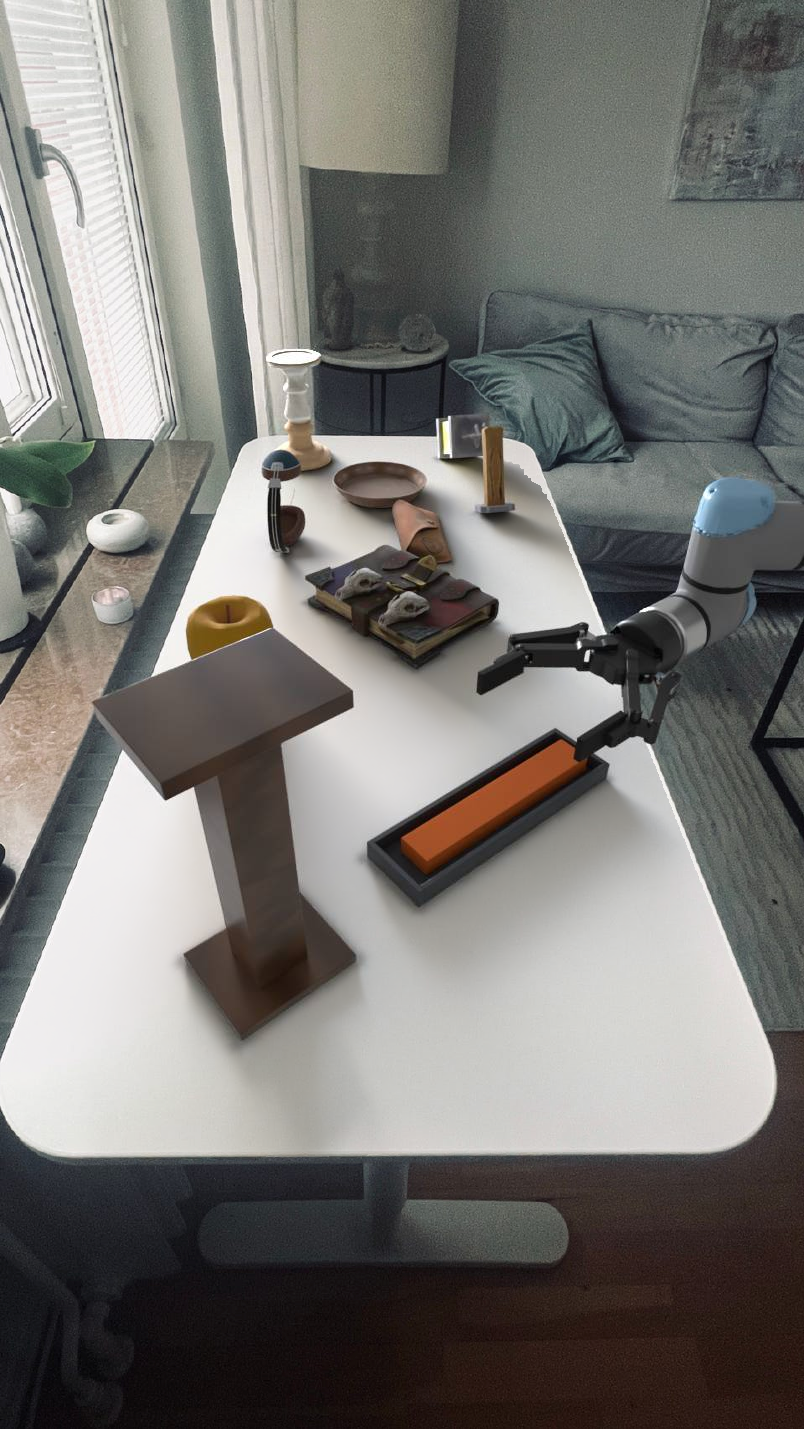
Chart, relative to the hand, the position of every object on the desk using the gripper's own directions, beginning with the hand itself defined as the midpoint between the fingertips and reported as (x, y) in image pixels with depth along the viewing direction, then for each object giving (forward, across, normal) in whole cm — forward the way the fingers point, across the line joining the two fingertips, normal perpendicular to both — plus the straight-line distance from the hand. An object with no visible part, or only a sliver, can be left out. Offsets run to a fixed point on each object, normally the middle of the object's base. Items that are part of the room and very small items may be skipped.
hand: (525, 715), depth 79 cm
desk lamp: (-56, +65, -12) cm, 87 cm away
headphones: (-15, +69, -12) cm, 72 cm away
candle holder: (-37, +97, -12) cm, 104 cm away
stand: (+32, 0, -12) cm, 34 cm away
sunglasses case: (-33, +54, -12) cm, 65 cm away
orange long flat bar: (+3, 0, -12) cm, 12 cm away
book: (-15, +38, -12) cm, 43 cm away
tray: (+3, 0, -12) cm, 13 cm away
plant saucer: (-39, +74, -12) cm, 84 cm away
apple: (+13, +37, -12) cm, 41 cm away
